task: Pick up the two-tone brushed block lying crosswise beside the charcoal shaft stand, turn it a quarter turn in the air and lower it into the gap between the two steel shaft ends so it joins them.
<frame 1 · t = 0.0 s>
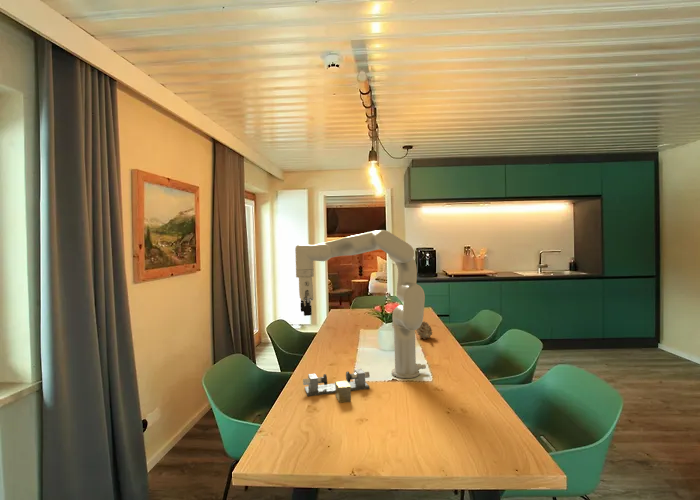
hand: (306, 313, 172), 31 cm above the table, tool pointing down, fingers open, 9 cm apart
pine cone: (425, 340, 244), on the table
two-tone brushed block: (343, 399, 157), on the table
shaft stand: (337, 388, 168), on the table
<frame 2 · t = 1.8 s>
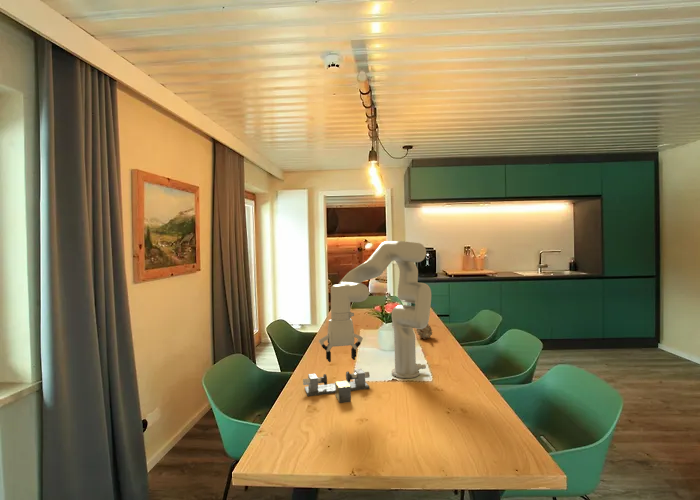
hand: (341, 360, 156), 16 cm above the table, tool pointing down, fingers open, 9 cm apart
nothing on the table moved.
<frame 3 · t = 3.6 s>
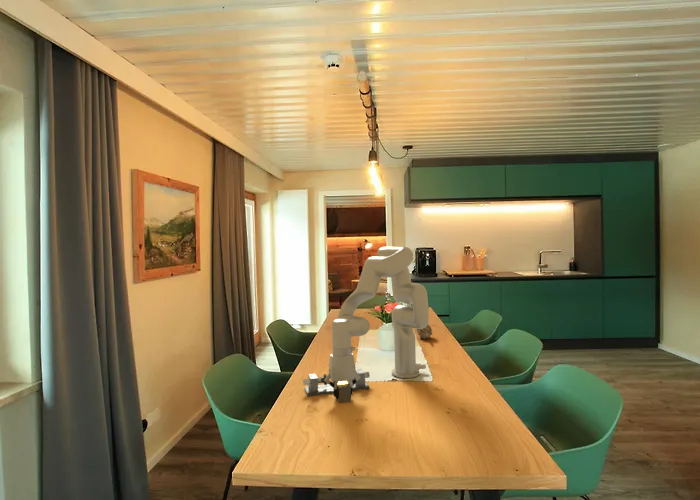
hand: (343, 396, 157), 1 cm above the table, tool pointing down, fingers closed on two-tone brushed block, 4 cm apart
two-tone brushed block: (343, 399, 157), on the table, touching gripper
everything else where it was.
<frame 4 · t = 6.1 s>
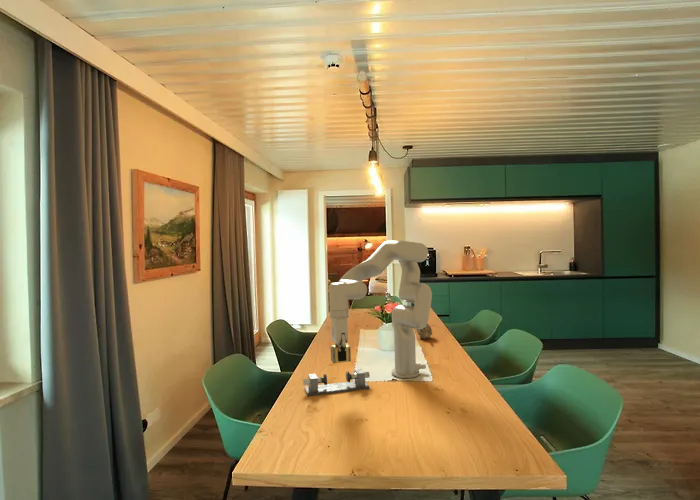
hand: (340, 358, 160), 15 cm above the table, tool pointing down, fingers closed on two-tone brushed block, 4 cm apart
two-tone brushed block: (340, 360, 160), point 14 cm above the table, touching gripper
everything else where it was.
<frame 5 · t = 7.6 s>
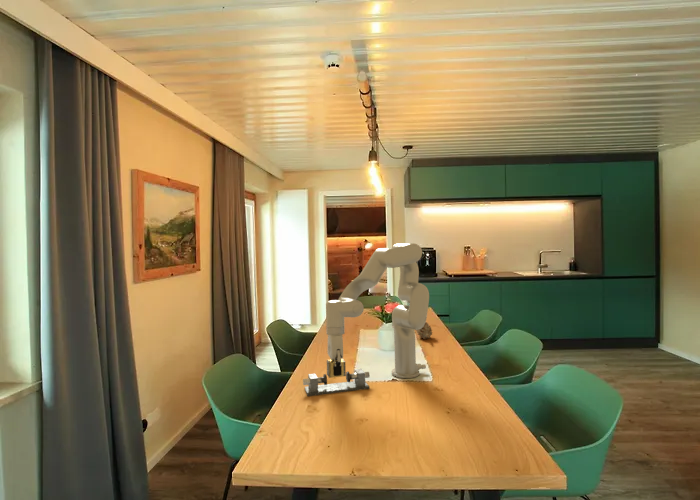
hand: (336, 373, 167), 7 cm above the table, tool pointing down, fingers closed on two-tone brushed block, 4 cm apart
two-tone brushed block: (336, 375, 167), point 6 cm above the table, touching gripper
everything else where it was.
when the fingers open (3 cm above the table, at t = 8.7 s): two-tone brushed block drops 1 cm, resting on shaft stand.
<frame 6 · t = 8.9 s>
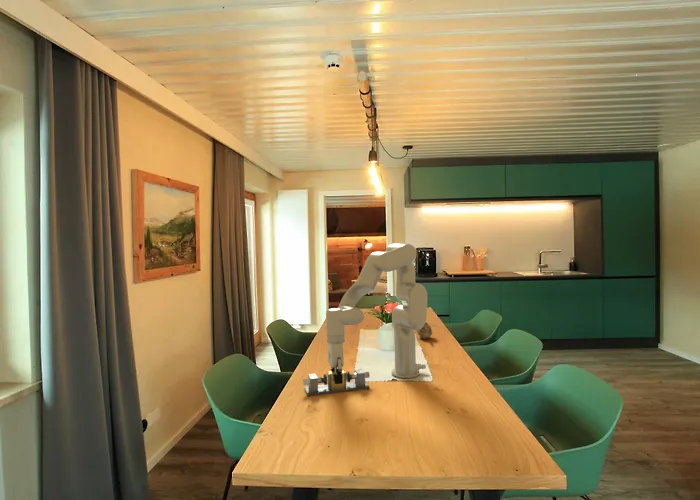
hand: (336, 380, 168), 4 cm above the table, tool pointing down, fingers open, 6 cm apart
two-tone brushed block: (336, 386, 168), point 1 cm above the table, touching shaft stand
everything else where it was.
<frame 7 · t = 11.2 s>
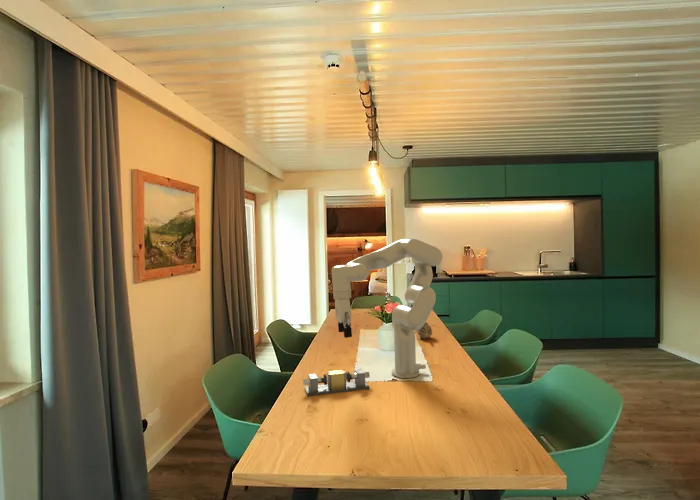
hand: (345, 334, 170), 22 cm above the table, tool pointing down, fingers open, 9 cm apart
nothing on the table moved.
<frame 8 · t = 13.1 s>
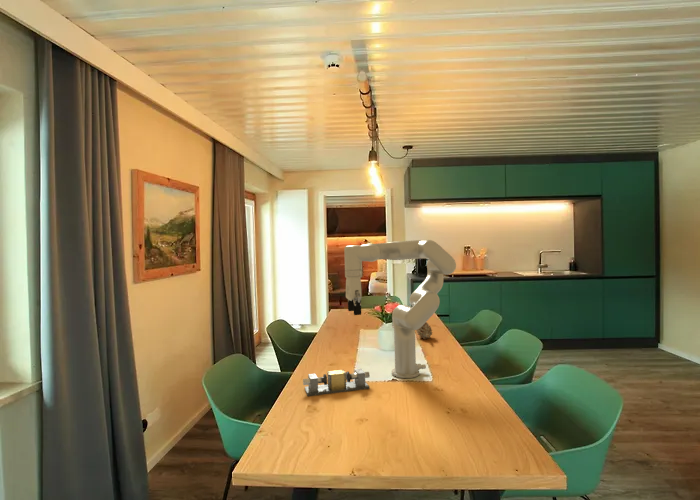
hand: (354, 312, 175), 30 cm above the table, tool pointing down, fingers open, 9 cm apart
nothing on the table moved.
at the end: two-tone brushed block 0.2 cm off-centre on the shaft stand, point 1.0 cm above the shaft stand's base; two-tone brushed block tilted 0°; the gripper is holding nothing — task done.
